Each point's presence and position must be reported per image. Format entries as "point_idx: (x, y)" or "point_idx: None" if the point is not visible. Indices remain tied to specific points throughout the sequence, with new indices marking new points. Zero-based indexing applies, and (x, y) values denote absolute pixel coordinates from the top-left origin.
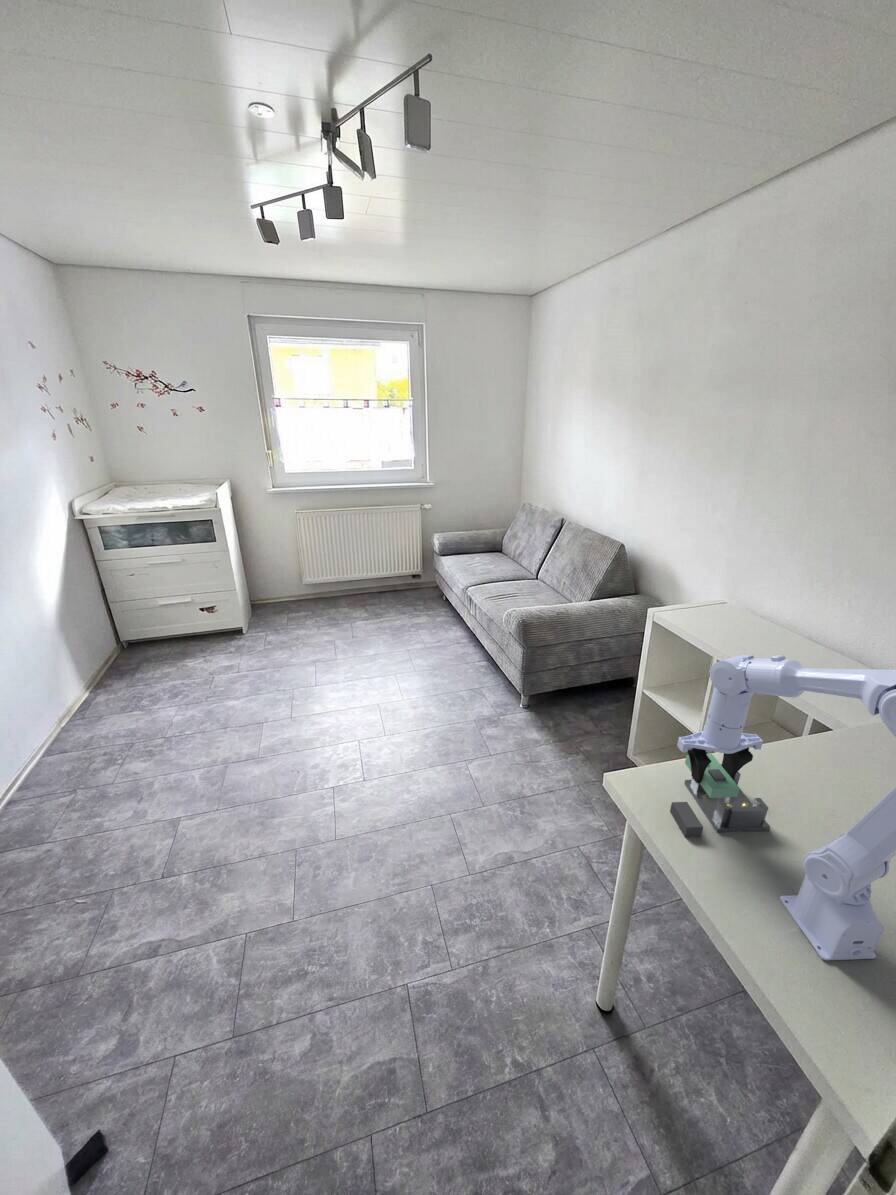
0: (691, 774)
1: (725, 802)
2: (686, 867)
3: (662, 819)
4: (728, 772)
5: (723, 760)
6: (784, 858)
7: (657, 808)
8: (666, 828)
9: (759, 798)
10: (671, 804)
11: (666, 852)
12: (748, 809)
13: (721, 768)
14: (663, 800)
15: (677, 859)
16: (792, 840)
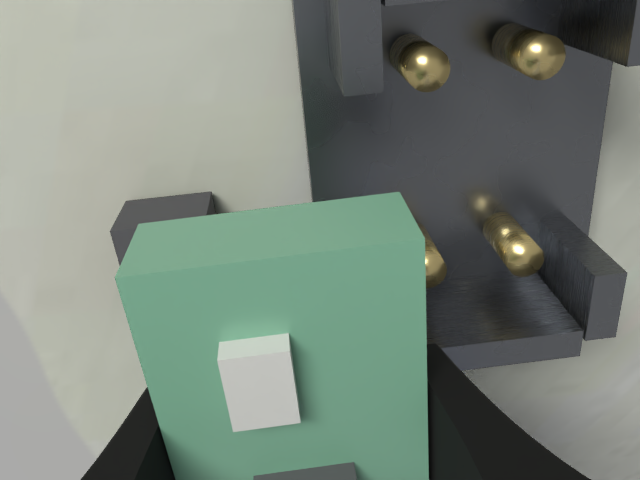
0: (143, 393)
1: None
2: None
3: (78, 245)
4: (436, 478)
5: (455, 436)
6: (531, 381)
7: (63, 176)
8: (88, 294)
9: (619, 276)
10: (113, 225)
11: (64, 403)
12: (495, 356)
13: (407, 423)
14: (110, 113)
15: (104, 425)
16: (631, 304)
